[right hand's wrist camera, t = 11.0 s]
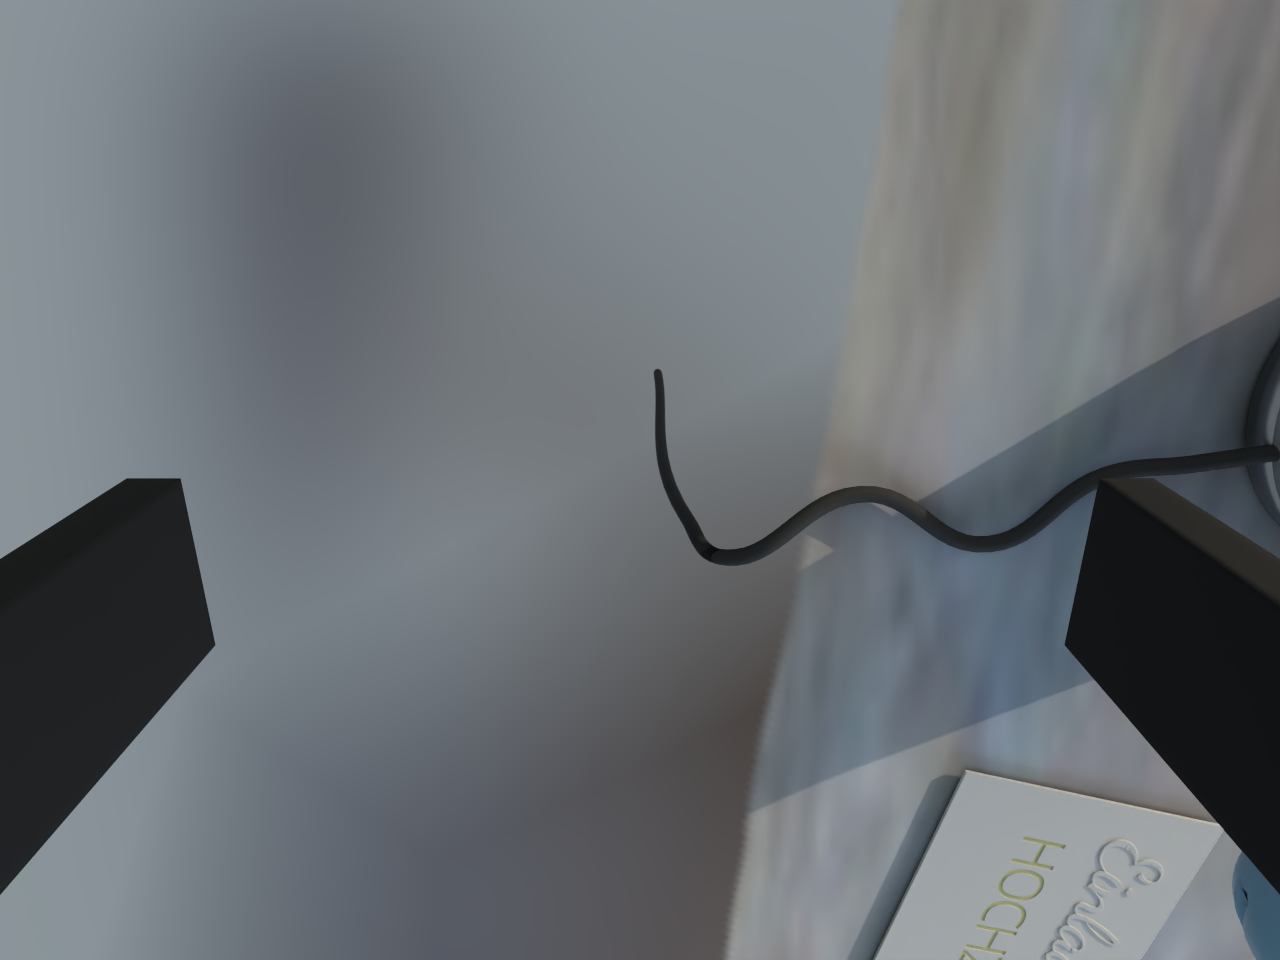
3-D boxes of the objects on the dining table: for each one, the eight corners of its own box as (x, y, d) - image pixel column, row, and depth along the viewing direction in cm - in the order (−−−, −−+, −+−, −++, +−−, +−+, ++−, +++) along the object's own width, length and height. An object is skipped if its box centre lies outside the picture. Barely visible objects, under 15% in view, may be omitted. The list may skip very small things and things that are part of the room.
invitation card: (967, 773, 44) (1226, 828, 46) (965, 769, 45) (1223, 824, 46) (834, 1045, 52) (1060, 1086, 53) (833, 1041, 52) (1058, 1081, 54)
